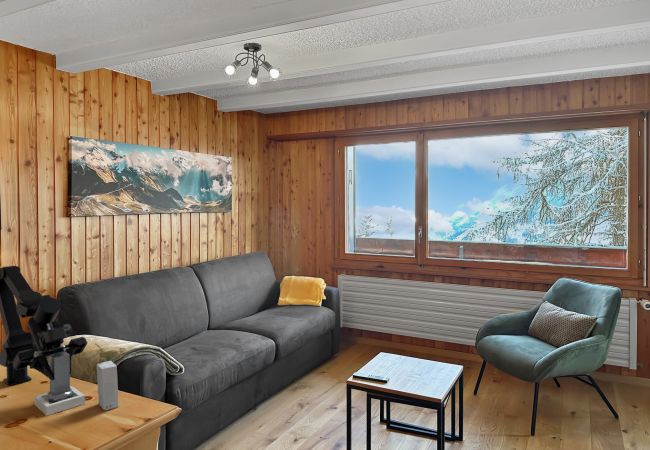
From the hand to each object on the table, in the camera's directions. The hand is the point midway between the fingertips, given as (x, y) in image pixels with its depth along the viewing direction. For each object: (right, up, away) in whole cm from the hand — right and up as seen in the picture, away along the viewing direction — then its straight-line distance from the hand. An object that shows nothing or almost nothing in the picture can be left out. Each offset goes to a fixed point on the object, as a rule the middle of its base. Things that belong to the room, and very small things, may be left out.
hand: (61, 377), depth 132 cm
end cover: (-1, -7, +1) cm, 7 cm away
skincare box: (+13, -9, +1) cm, 16 cm away
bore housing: (-1, -8, +1) cm, 8 cm away
